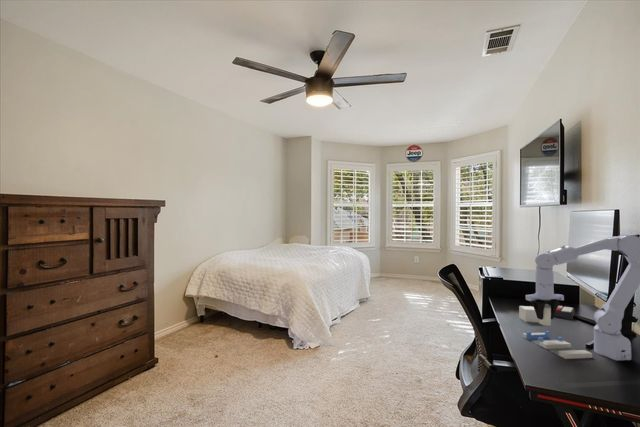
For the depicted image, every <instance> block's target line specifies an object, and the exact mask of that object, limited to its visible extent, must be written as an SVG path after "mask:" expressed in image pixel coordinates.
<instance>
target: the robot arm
mask: <svg viewBox="0 0 640 427" xmlns="http://www.w3.org/2000/svg"><path fill="white" fill-rule="evenodd" d="M604 250H609V251H616V252H620V253H621V254H623V256H624V258H625V259H626V261H627V262H628V265H627V266H626V268H625V270H624V272H623V273H622V274H621V277H620V278H619V280H618V282H617V283H616V285H615V287H614V289H613V290H612V292H611V294H610V295H609V298H607V300H606V301H605V303H604V304H602V306H601V308H599V309H597V310H596V311H594V312H593V320H594V321H595V323H596V324H595V325H594V326H593V351H594V352H595V353H596V354H598V355H601V356H604V357H607V358H609V359H611V360H614V361H631V360H632V343H631V341H630V339H629V338H627V337H626V336H624V335H623V334H622V331H621V330H622V321H623V319H624V316H625V310H626V308H627V307H628V305H629V303H630V302H631V300H632V298H633V297H634V295H635V293H636V291H637V290H638V288H639V286H640V237H639V236H635V235H629V234H620V235H618V236H616V235H615V236H608V237H604V238H601V239H598V240H594V241H592V242H589V243H588V242H587V243H585V244H583V245H578V246H576V247H573V246H571V245H566V246H565V245H562V246H561V245H560V248H559V247H558V248H556V249H552V250H549V249H548V250H546V252H540V253H538V254H537V255H536V256H535V258H534V261H535V262H534V263H535V264H536V266H535V270H536V271H535V292H534V293H532V294H525V300H526V301H529V302H530V303H531V305H532V307H534V309H535V312H536V315H537V318H538V319H541V320H543V312H544V307H545V304H549V305H551V320H553V319H554V317H555V316H554V313H555V311H556V309H557V307H558V306H561V302H560V301H565V295H564V294H560V293H555V290H554V286H555V285H554V284H555V283H554V270H553V267H554V266H555V265H556V266H560V265H564V264H566V263H571V262H574V261H577V260H578V258H579V256H582V255H583V256H584V255H588V254H591V253H595V252H599V251H604ZM543 301H544V302H543Z"/></svg>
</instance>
